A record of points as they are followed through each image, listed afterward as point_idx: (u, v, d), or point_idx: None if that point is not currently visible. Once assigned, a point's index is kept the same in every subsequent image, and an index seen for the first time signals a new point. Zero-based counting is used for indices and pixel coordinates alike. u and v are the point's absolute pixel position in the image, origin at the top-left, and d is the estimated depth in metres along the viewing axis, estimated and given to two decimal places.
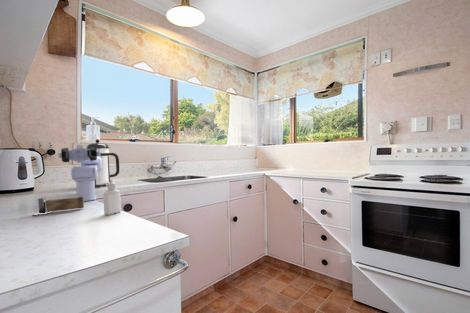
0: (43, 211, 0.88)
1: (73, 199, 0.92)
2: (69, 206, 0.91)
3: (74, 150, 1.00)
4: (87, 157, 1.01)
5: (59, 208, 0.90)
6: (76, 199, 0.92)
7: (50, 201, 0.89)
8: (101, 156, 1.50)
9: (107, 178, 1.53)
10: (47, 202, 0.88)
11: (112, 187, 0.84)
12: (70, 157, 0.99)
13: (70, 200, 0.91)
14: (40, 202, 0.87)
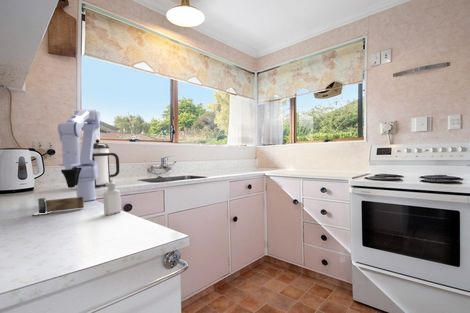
0: (43, 211, 0.88)
1: (73, 199, 0.92)
2: (69, 206, 0.91)
3: None
4: (74, 166, 0.94)
5: (59, 208, 0.90)
6: (76, 199, 0.92)
7: (50, 201, 0.89)
8: (101, 156, 1.50)
9: (107, 178, 1.53)
10: (47, 202, 0.88)
11: (112, 187, 0.84)
12: None
13: (70, 200, 0.91)
14: (40, 202, 0.87)
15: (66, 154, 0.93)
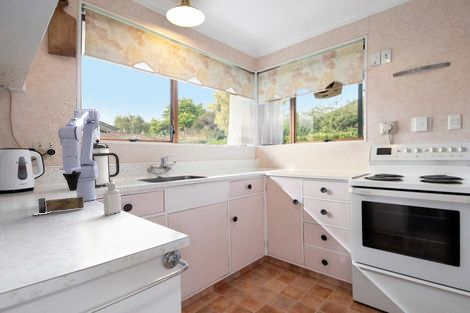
0: (43, 211, 0.88)
1: (73, 199, 0.92)
2: (69, 206, 0.91)
3: None
4: (74, 170, 0.94)
5: (59, 208, 0.90)
6: (76, 199, 0.92)
7: (50, 201, 0.89)
8: (101, 156, 1.50)
9: (107, 178, 1.53)
10: (47, 202, 0.88)
11: (112, 187, 0.84)
12: None
13: (70, 200, 0.91)
14: (40, 202, 0.87)
15: (66, 158, 0.93)
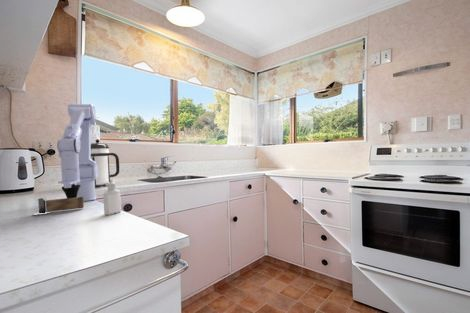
0: (43, 211, 0.88)
1: (73, 199, 0.92)
2: (69, 206, 0.91)
3: None
4: (74, 184, 0.92)
5: (59, 208, 0.90)
6: (76, 199, 0.92)
7: (50, 201, 0.89)
8: (101, 156, 1.50)
9: (107, 178, 1.53)
10: (47, 202, 0.88)
11: (112, 187, 0.84)
12: None
13: (70, 200, 0.91)
14: (40, 202, 0.87)
15: (65, 171, 0.90)
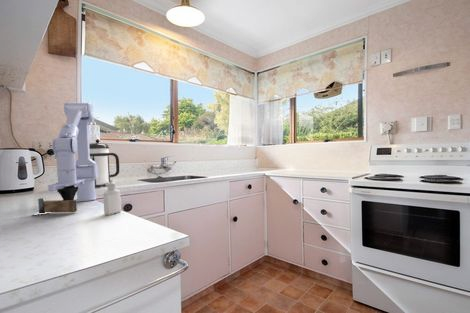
0: (43, 211, 0.88)
1: (65, 202, 0.87)
2: (62, 209, 0.87)
3: None
4: (65, 186, 0.86)
5: (54, 210, 0.87)
6: (67, 202, 0.86)
7: (46, 202, 0.87)
8: (101, 156, 1.50)
9: (107, 178, 1.53)
10: (44, 203, 0.87)
11: (112, 187, 0.84)
12: (77, 182, 0.92)
13: (62, 203, 0.87)
14: (40, 202, 0.87)
15: (58, 173, 0.86)
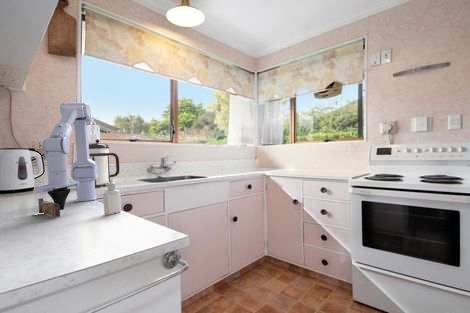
0: None
1: (50, 205, 0.82)
2: (50, 212, 0.83)
3: None
4: (54, 188, 0.82)
5: (46, 212, 0.85)
6: (52, 206, 0.82)
7: (42, 203, 0.86)
8: (101, 156, 1.50)
9: (107, 178, 1.53)
10: (41, 203, 0.87)
11: (112, 187, 0.84)
12: (70, 184, 0.88)
13: (49, 206, 0.83)
14: (40, 202, 0.87)
15: (48, 174, 0.83)
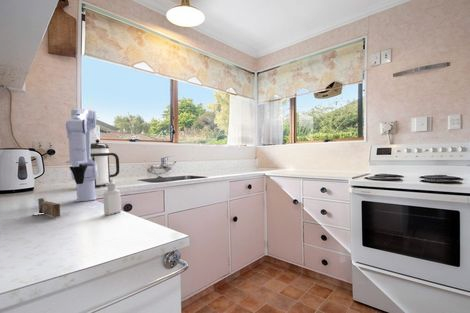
0: None
1: (50, 205, 0.82)
2: (50, 212, 0.83)
3: None
4: (81, 163, 0.94)
5: (46, 212, 0.85)
6: (52, 206, 0.82)
7: (42, 203, 0.86)
8: (101, 156, 1.50)
9: (107, 178, 1.53)
10: (41, 203, 0.87)
11: (112, 187, 0.84)
12: None
13: (49, 206, 0.83)
14: (40, 202, 0.87)
15: (73, 151, 0.93)
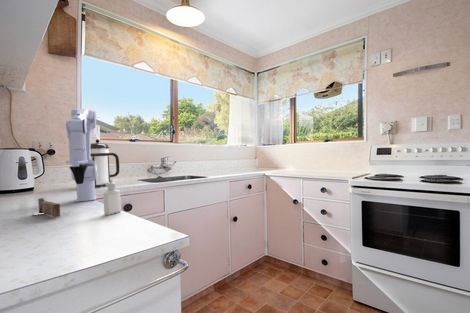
0: None
1: (50, 205, 0.82)
2: (50, 212, 0.83)
3: None
4: (81, 163, 0.94)
5: (46, 212, 0.85)
6: (52, 206, 0.82)
7: (42, 203, 0.86)
8: (101, 156, 1.50)
9: (107, 178, 1.53)
10: (41, 203, 0.87)
11: (112, 187, 0.84)
12: None
13: (49, 206, 0.83)
14: (40, 202, 0.87)
15: (73, 151, 0.93)
